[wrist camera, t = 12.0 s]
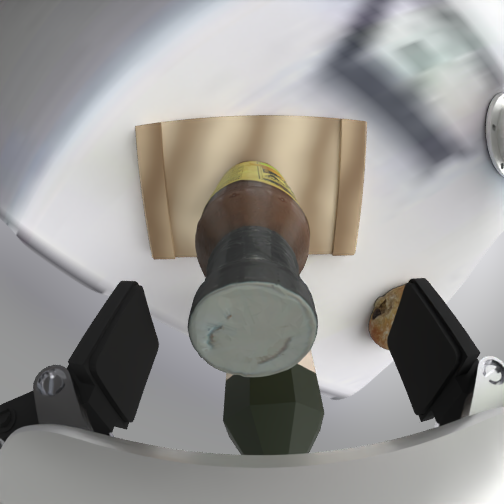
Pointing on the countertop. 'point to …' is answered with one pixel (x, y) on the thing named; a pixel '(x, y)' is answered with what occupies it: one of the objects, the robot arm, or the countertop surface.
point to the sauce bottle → (252, 275)
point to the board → (252, 149)
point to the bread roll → (384, 316)
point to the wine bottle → (274, 411)
